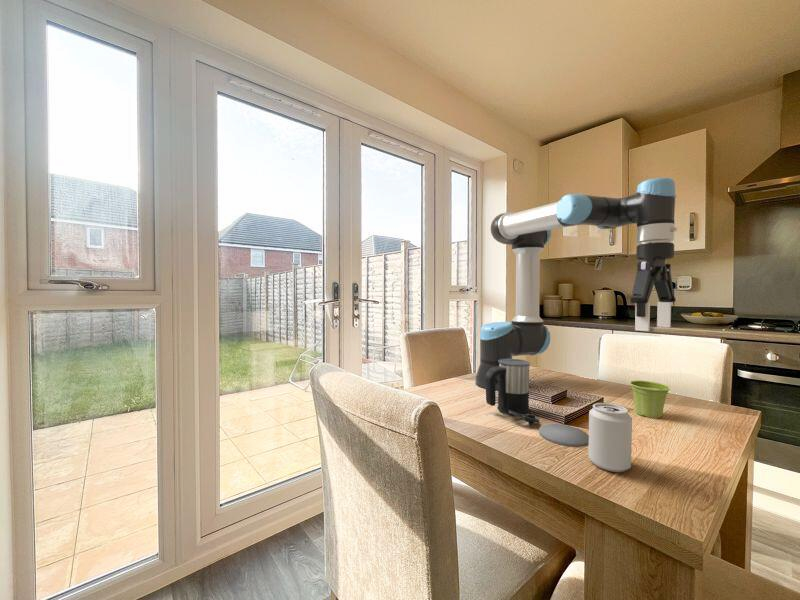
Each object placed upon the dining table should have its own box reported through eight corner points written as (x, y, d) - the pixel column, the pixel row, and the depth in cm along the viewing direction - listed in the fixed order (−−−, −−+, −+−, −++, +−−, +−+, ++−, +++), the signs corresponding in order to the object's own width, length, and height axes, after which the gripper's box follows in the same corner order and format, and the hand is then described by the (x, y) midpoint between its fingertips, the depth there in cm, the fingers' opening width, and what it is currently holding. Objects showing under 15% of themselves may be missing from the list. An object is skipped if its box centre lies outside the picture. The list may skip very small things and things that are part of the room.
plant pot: (655, 409, 102) (656, 380, 102) (677, 421, 92) (678, 390, 92) (622, 408, 103) (622, 380, 102) (641, 420, 93) (642, 389, 93)
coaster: (530, 433, 85) (530, 429, 85) (556, 423, 91) (556, 420, 91) (572, 450, 76) (572, 447, 76) (598, 438, 82) (598, 435, 82)
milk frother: (510, 403, 108) (510, 356, 107) (558, 418, 95) (558, 365, 94) (480, 413, 99) (480, 362, 99) (528, 431, 86) (529, 373, 86)
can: (635, 464, 70) (636, 406, 69) (625, 478, 65) (627, 416, 64) (594, 452, 75) (595, 398, 75) (583, 464, 70) (584, 406, 70)
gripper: (652, 236, 74) (651, 333, 75) (690, 245, 88) (689, 326, 89) (615, 241, 80) (614, 330, 81) (656, 248, 94) (655, 324, 95)
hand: (653, 328), depth 85 cm, fingers open, 13 cm apart
